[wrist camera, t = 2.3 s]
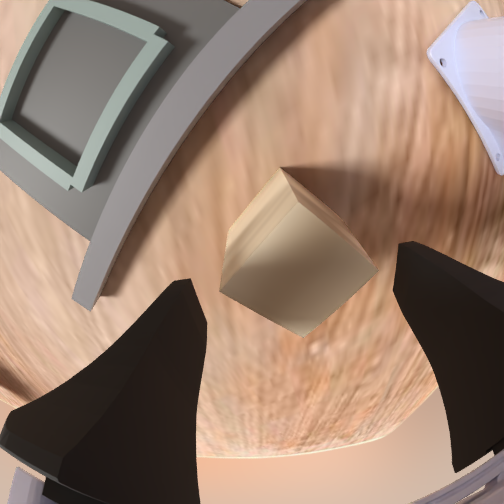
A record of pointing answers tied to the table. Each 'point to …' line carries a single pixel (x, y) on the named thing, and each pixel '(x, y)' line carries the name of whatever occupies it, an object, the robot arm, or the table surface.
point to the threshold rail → (173, 134)
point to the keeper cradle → (94, 94)
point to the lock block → (292, 257)
